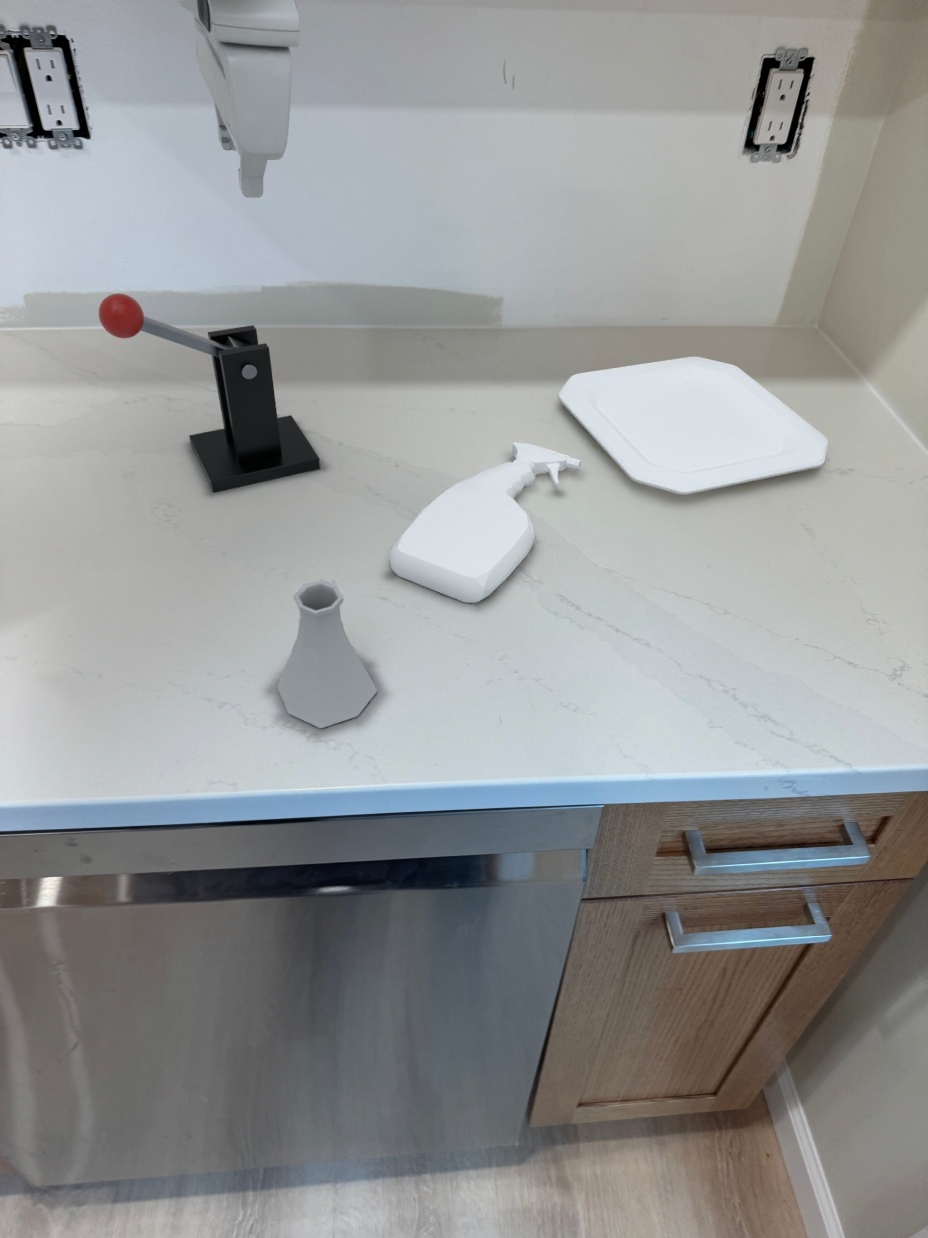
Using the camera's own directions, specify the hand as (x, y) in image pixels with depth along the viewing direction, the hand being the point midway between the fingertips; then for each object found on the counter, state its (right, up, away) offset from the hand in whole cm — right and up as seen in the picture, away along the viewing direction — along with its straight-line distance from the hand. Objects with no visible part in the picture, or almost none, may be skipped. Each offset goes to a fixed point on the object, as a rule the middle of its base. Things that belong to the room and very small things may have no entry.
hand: (240, 169), depth 74 cm
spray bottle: (+23, -31, +6) cm, 39 cm away
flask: (+10, -46, -10) cm, 48 cm away
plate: (+45, -19, +20) cm, 53 cm away
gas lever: (-6, -16, +1) cm, 17 cm away
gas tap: (-2, -24, +11) cm, 26 cm away
